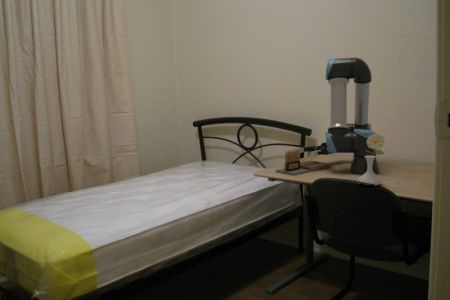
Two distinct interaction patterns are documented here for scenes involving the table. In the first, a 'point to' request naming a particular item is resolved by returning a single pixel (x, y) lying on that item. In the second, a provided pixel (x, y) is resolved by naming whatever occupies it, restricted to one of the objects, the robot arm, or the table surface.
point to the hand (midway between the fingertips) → (304, 152)
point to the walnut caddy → (314, 165)
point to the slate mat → (295, 172)
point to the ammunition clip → (292, 160)
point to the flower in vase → (375, 143)
